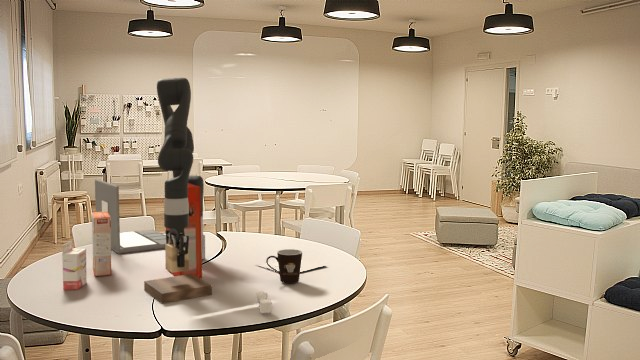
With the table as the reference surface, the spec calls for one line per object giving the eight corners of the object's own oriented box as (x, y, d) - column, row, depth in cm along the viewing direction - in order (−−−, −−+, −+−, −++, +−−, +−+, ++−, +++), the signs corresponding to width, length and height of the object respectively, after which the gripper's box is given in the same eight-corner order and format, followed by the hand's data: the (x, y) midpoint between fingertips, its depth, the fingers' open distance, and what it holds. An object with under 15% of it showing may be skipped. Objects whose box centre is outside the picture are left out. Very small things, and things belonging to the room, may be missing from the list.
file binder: (178, 281, 188) (177, 187, 185) (165, 269, 203) (164, 182, 200) (202, 278, 192) (201, 186, 189) (187, 267, 207) (186, 181, 204)
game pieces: (272, 313, 158) (272, 302, 158) (260, 313, 158) (260, 302, 157) (266, 300, 170) (266, 289, 170) (255, 300, 169) (255, 290, 169)
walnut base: (191, 282, 187) (191, 273, 187) (211, 294, 174) (211, 285, 174) (144, 290, 178) (144, 281, 177) (162, 303, 165) (161, 293, 165)
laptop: (180, 248, 240) (179, 183, 237) (117, 255, 225) (115, 186, 222) (153, 234, 268) (151, 176, 265) (95, 240, 253) (93, 179, 250)
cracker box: (112, 275, 195) (111, 216, 193) (94, 277, 192) (92, 217, 190) (109, 266, 207) (108, 210, 205) (92, 267, 205) (90, 211, 203)
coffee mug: (305, 278, 193) (306, 250, 192) (296, 285, 185) (296, 255, 184) (275, 275, 197) (275, 247, 196) (265, 281, 189) (265, 252, 188)
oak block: (182, 266, 179) (181, 242, 178) (188, 270, 175) (188, 245, 174) (165, 269, 176) (165, 244, 175) (171, 272, 171) (171, 247, 171)
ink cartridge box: (78, 289, 177) (77, 244, 176) (62, 290, 177) (61, 244, 176) (87, 282, 186) (86, 239, 185) (72, 282, 186) (71, 239, 184)
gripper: (197, 214, 170) (197, 268, 171) (179, 208, 181) (179, 259, 183) (173, 216, 165) (174, 271, 167) (156, 210, 177) (157, 262, 179)
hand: (177, 264), depth 175 cm, fingers closed on oak block, 5 cm apart
